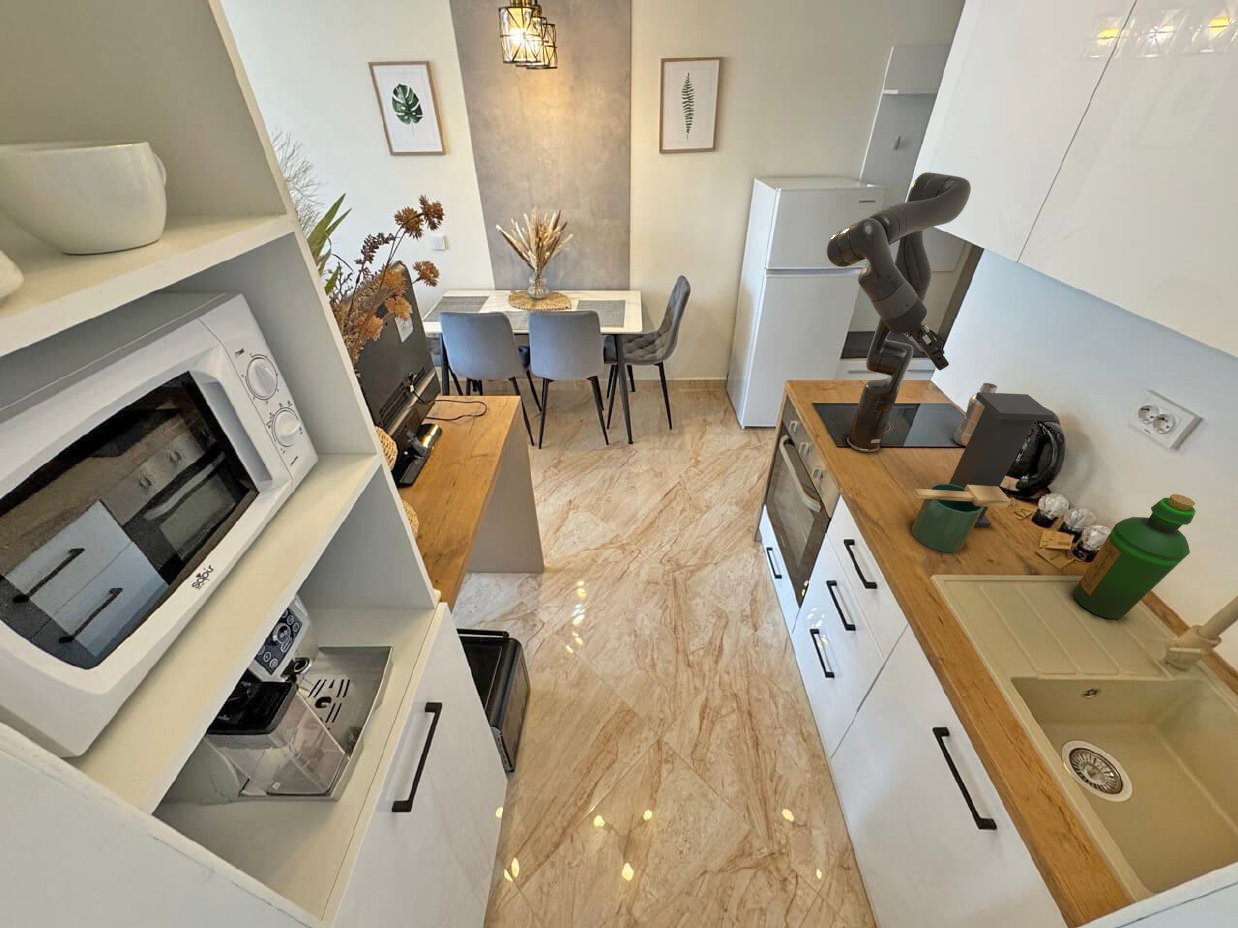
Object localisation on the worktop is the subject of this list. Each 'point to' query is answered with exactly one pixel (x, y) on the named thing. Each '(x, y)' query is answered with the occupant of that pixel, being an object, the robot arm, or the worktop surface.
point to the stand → (997, 440)
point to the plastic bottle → (972, 416)
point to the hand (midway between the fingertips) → (935, 359)
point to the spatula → (969, 495)
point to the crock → (945, 521)
